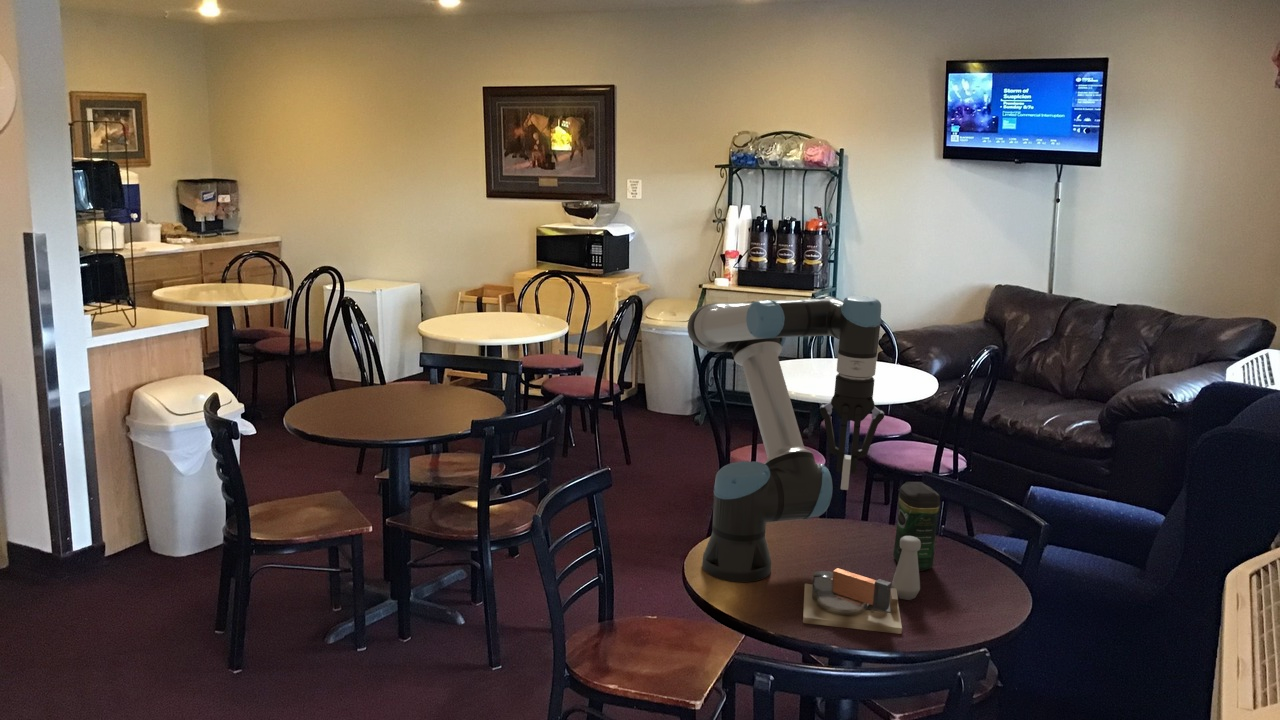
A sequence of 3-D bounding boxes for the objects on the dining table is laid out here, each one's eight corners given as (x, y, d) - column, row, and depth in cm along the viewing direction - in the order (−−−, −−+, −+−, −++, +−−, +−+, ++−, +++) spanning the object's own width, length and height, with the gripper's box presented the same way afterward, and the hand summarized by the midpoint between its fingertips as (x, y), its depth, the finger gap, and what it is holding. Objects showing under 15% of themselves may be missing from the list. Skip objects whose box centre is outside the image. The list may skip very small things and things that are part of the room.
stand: (802, 622, 206) (804, 603, 205) (804, 588, 222) (805, 570, 221) (901, 633, 203) (903, 614, 202) (896, 598, 219) (897, 580, 218)
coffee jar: (937, 571, 233) (946, 493, 229) (903, 572, 232) (911, 493, 228) (921, 554, 242) (929, 478, 238) (888, 555, 241) (895, 478, 237)
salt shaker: (898, 587, 224) (904, 530, 221) (923, 595, 221) (929, 537, 218) (886, 595, 220) (891, 538, 217) (911, 604, 216) (917, 545, 213)
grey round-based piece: (874, 627, 202) (877, 592, 200) (801, 602, 212) (803, 568, 210) (896, 610, 210) (900, 576, 208) (824, 586, 219) (827, 553, 218)
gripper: (821, 376, 204) (811, 489, 210) (889, 383, 202) (877, 497, 207) (823, 367, 211) (813, 477, 217) (888, 373, 209) (877, 485, 214)
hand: (844, 487), depth 212 cm, fingers closed
